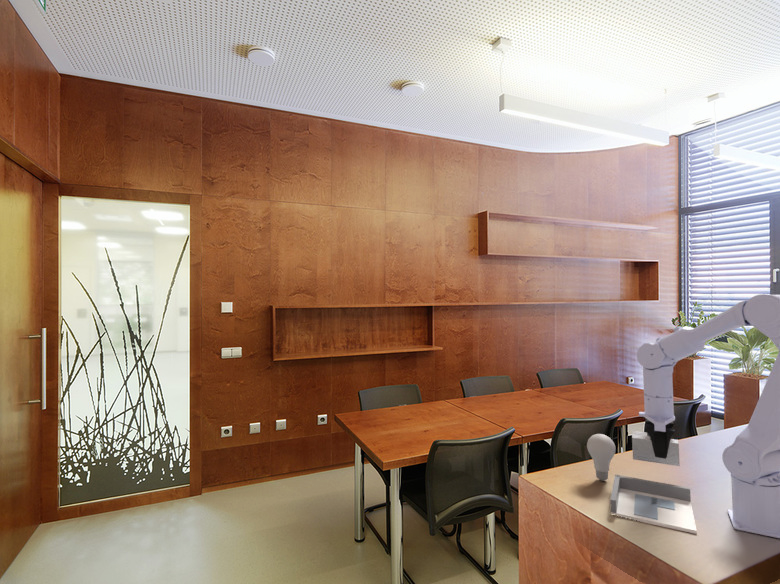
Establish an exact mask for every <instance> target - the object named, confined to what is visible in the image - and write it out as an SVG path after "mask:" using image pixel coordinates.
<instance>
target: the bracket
mask: <svg viewBox="0 0 780 584" xmlns="http://www.w3.org/2000/svg"><path fill="white" fill-rule="evenodd" d="M631 443H632V444H631V445H632V447H631V449H632V460H634V461H642V462H647V463H648V462H649V463H653V464H654V463H655V464H661V465H669V466H676V467H681V466H680V445H679V440H678V439H674V438H671V440H670V443H669V448H668V454H667V458H666V459H665V458H658V457H655V454H654V450H653V446H652V442H651V438H650V436H649V435H648V432H647V431H645V432H644V431H638V430H637V431H636V430H632V434H631Z"/></svg>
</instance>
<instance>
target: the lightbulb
mask: <svg viewBox="0 0 780 584" xmlns="http://www.w3.org/2000/svg"><path fill="white" fill-rule="evenodd" d="M586 448H587V451H588V454H589V455H590V457H591V458H592V461H593V466H594V470H595V476H596V478H597V479H598V480H599V481H600V482H605V481H607V480H608V479H609V471H610V465H611V461H612V459H613V458H614V456H615V454H616V451H617V449H616V445H615V442H614V441H613V439H611V437H609V436H607V435H605V434H603V433H596V434H592V435H591V436H590V437H589V438H588V439H587V443H586Z"/></svg>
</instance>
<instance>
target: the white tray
mask: <svg viewBox="0 0 780 584" xmlns="http://www.w3.org/2000/svg"><path fill="white" fill-rule="evenodd" d="M691 498H692V497H691V487H690V486H689V487H688V486H682V485H676V484H671V483H666V482H659V481H653V480H647V479H642V478H638V477H637V478H636V477H631V476H630V477H629V476H625V475H619V474H614V479H613V483H612V489H611V493H610V498H609V500H610V515H611V514H615V515H618V516H622V517H627V518H631V519H634V520H633V521H636V520H637V521H636V522H641V523H644V524H649V525H655V526H659V527H663V528H667V529H671V530H672V529H673V530H677V531H681V532H687V533H691V534H693V535H694V534H696V535H697V534H698V533H697V532H698V531H697V526H696V521H695V516H694V512H693V506H692V503H691V502H692V500H691ZM622 517H621V518H622ZM627 518H626V519H627ZM631 519H630V520H631Z"/></svg>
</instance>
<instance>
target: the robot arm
mask: <svg viewBox="0 0 780 584" xmlns="http://www.w3.org/2000/svg"><path fill="white" fill-rule="evenodd" d="M747 326H753V327H754V329H756V330H758V331H759V332H760V333H761V334H763V335H764V336H766V337H767V338H769V339H770V341H772V343H773V344H774V345H775V347H776V349H777V350H778V353H777V356H776V358H775V361H774V363H773V365H772V367H771V370H770V372H769V375H768V376H767V380H766V382H765V385H764V386H763V388H762V391H761V393H760V395H759V398H758V400H757V403H756V406H755V407H754V410H753V413H752V415H751V417H750V420H749V422H748V424H747V426H746V427H745V428H744V429H743V430H742V431H741V432H740V433H738V435H736V438H735V439H734V441H733V443H732V444H731V445H730V444H729V446H727V447H726V448H724V450H723V452H722V454H721V455H722V462H723V465H724V467H725V468H726V470H727V471H728V472H729V473H730V479H731V482H730V483H731V504H732V506H731V507H732V508H728V509H727V513H728V516H729V519H730V521H731V522H730V523H731V524H732V528H733V529H735V530H736V531H737V530H738V531H742V532H747V533H752V534H757V535H761V536H766V537H772V538H777V539H780V294H769V293H761V294H757V295H754V296H752V297H750V298H749V299H746V300H743V301H739V302H738V303H736V304H735V305H733V306H732V307H729V308H728V309H726V310H724V311H723V312H720V313H719V314H717V315H715V316H714V317H712V318H710V319H709V320H706V321H705V322H703V323H701V324H699V325H697V326H695V327H690V326H675V327H674V328H673V329H672V330H673V332H671V333H668V334H667V335H665V336H664V337H663V336H660V337H656V339H655V342H654V343H650V342H646V343H643V344H642V345H641V346H639V347H638V349H637V352H636V359H637V362H638V363H639V364H640V365H641V367H642V376H643V377H642V380H643V381H642V382H643V402H644V403H643V405H644V406H643V407H644V408H643V409H644V411H638V417H642V418H645V421H644V422H645V424H644V428H645V430H646V433H647V435H648V436H650V438H651V442H652V446H653V450H654V454H655V457H658V458H665V459H666V458H667V454H668V448H669V443H670V440H671V439H672V437H673V435H674V433H675V432H676V429H675V428H674V426H675V423H674V422H675V420H676V416H675V408H674V387H673V386H674V384H673V382H674V381H673V373H674V367H675V366H676V365H677V363H678V362H679V361H681V360H683V359H686V358H687V357H690V356H692V355H694V354H697V353H698V352H699V353H700V352H701V351H703V350H704V349H705V346H706V342H707V341H710V340H712V339H715V338H717V337H719V336H722V335H725V334H727V333H729V332H731V331H733V330H736V329H739V328H741V327H747Z"/></svg>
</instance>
